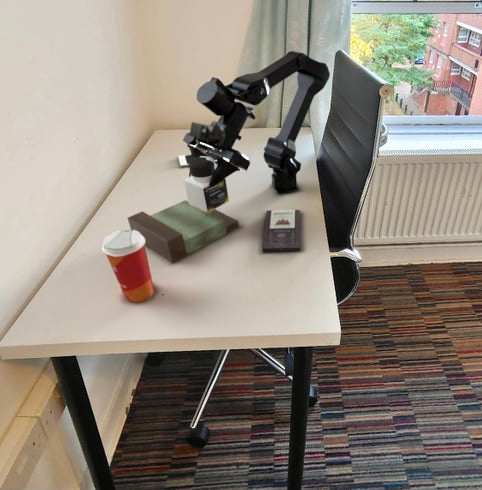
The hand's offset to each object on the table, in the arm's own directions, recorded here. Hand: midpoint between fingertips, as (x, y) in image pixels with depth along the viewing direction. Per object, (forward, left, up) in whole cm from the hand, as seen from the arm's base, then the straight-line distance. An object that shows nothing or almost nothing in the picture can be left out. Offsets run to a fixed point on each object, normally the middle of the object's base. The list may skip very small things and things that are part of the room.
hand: (200, 181), depth 107 cm
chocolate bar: (-17, +10, -13) cm, 23 cm away
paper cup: (+18, +20, -13) cm, 30 cm away
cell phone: (-8, -43, -13) cm, 45 cm away
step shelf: (+5, 0, -13) cm, 14 cm away
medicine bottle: (-1, -1, -7) cm, 7 cm away
